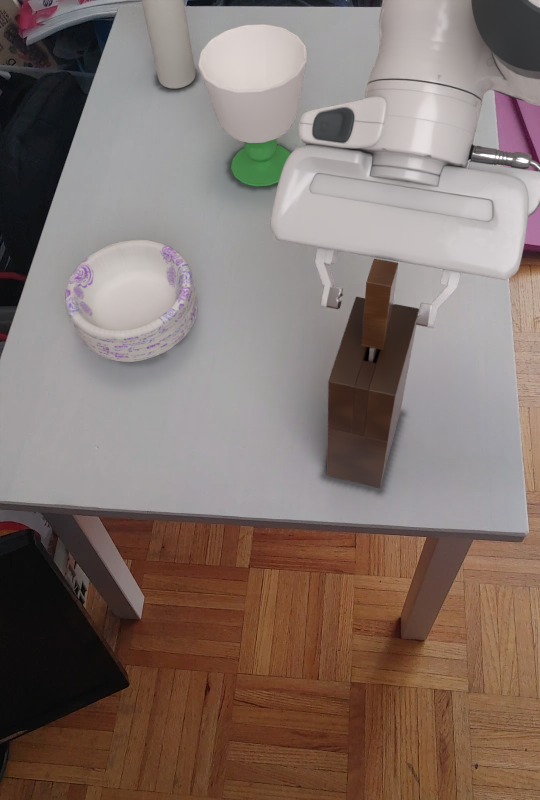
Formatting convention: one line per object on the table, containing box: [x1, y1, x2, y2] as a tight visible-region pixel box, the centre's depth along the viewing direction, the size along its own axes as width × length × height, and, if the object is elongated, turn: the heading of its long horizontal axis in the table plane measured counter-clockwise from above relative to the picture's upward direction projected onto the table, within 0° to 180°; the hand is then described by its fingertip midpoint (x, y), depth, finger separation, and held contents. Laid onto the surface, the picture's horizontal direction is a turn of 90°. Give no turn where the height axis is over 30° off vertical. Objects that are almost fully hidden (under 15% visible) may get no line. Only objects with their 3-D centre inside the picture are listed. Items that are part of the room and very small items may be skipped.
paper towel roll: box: [140, 0, 197, 89], centre depth 102 cm, size 7×6×21 cm
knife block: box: [326, 296, 420, 489], centre depth 71 cm, size 6×10×18 cm, turn 163°
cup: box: [198, 23, 308, 187], centre depth 94 cm, size 14×14×16 cm
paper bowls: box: [64, 239, 199, 363], centre depth 85 cm, size 15×15×8 cm
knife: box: [361, 258, 399, 363], centre depth 62 cm, size 2×3×17 cm, turn 163°
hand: (376, 316), depth 59 cm, fingers open, 7 cm apart
